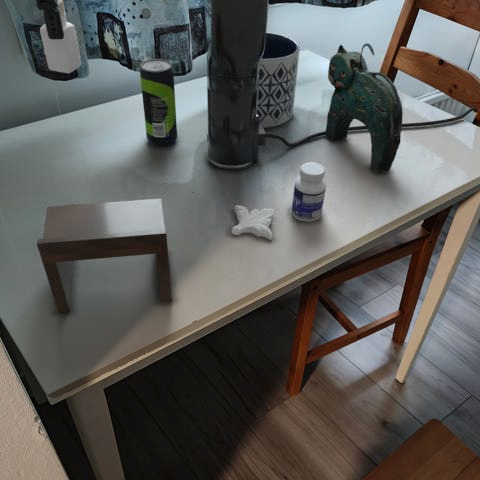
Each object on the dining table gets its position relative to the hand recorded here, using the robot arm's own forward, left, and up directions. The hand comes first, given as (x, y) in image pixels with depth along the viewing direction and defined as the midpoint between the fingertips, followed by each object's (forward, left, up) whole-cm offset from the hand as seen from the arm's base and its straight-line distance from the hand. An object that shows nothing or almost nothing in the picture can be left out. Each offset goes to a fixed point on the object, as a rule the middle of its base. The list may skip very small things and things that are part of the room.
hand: (58, 31), depth 79 cm
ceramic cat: (-54, -4, -25) cm, 59 cm away
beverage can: (-15, -13, -25) cm, 32 cm away
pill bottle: (-38, +16, -25) cm, 48 cm away
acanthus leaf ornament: (-28, +18, -25) cm, 42 cm away
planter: (-37, -23, -25) cm, 50 cm away
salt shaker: (0, 0, -6) cm, 6 cm away
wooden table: (-5, +29, -25) cm, 39 cm away
